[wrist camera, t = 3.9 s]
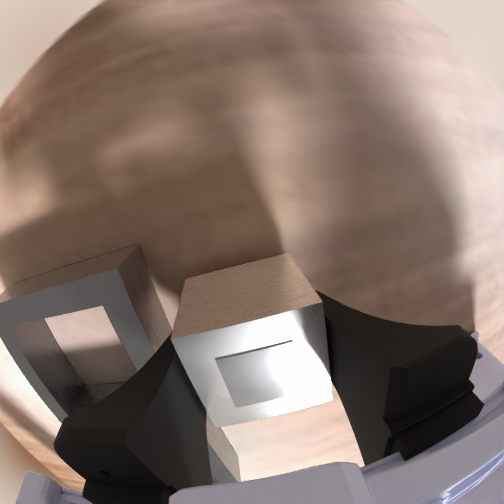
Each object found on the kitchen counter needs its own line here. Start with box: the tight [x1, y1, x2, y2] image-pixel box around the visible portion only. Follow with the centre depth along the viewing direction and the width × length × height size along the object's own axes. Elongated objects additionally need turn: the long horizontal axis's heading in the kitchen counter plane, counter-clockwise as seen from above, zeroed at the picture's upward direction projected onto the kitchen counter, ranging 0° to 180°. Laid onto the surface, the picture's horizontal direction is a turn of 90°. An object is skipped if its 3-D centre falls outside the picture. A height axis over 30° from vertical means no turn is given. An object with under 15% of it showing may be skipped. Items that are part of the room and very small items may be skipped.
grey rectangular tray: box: [0, 244, 241, 485], centre depth 13 cm, size 9×18×3 cm, turn 13°
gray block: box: [171, 253, 332, 427], centre depth 11 cm, size 4×4×4 cm
